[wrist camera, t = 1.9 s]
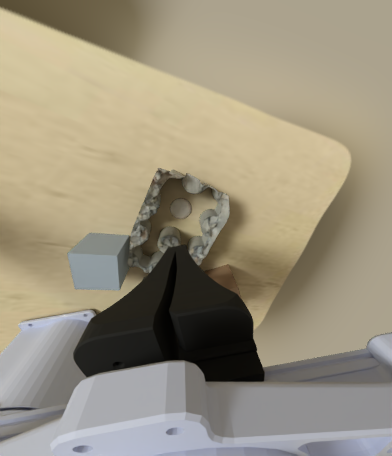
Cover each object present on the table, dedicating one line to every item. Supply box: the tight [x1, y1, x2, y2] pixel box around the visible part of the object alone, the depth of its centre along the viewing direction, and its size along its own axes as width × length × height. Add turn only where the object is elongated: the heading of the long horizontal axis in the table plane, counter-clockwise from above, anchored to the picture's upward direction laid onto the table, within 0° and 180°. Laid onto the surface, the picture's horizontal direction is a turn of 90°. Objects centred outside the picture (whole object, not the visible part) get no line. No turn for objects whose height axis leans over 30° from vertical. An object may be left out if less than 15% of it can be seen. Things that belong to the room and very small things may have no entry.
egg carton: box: [128, 168, 230, 273], centre depth 16 cm, size 11×8×4 cm
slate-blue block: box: [67, 233, 130, 290], centre depth 17 cm, size 4×4×4 cm
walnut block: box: [205, 264, 241, 298], centre depth 20 cm, size 4×4×4 cm
